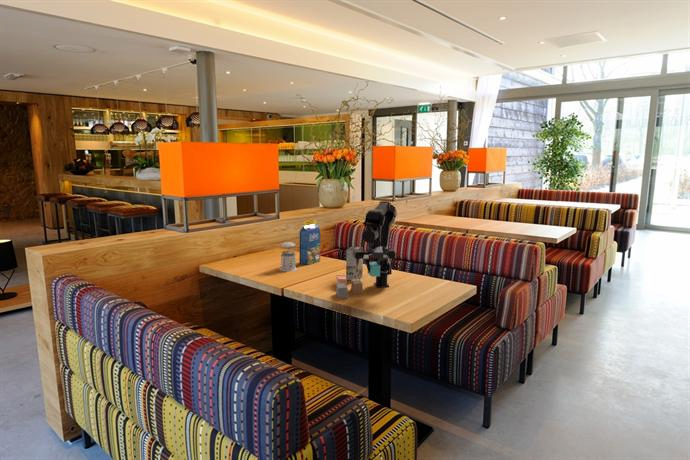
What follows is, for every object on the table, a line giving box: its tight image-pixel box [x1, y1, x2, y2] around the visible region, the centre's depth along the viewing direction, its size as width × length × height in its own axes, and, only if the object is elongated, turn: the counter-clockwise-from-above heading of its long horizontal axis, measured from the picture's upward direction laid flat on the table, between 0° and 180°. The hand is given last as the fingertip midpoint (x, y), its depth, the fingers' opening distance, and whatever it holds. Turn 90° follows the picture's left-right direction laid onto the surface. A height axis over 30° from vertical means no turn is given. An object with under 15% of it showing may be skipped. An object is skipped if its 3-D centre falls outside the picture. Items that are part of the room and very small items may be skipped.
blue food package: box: [299, 219, 321, 266], centre depth 264 cm, size 6×12×25 cm, turn 146°
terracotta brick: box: [335, 274, 348, 287], centre depth 219 cm, size 7×4×5 cm, turn 9°
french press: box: [279, 224, 298, 272], centre depth 248 cm, size 10×12×25 cm
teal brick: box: [367, 261, 380, 278], centre depth 205 cm, size 7×4×5 cm, turn 11°
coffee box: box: [345, 245, 364, 281], centre depth 233 cm, size 9×6×16 cm
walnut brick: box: [350, 278, 363, 295], centre depth 212 cm, size 7×4×5 cm, turn 9°
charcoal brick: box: [335, 283, 349, 300], centre depth 205 cm, size 7×4×5 cm, turn 9°
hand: (373, 272), depth 206 cm, fingers closed on teal brick, 4 cm apart
